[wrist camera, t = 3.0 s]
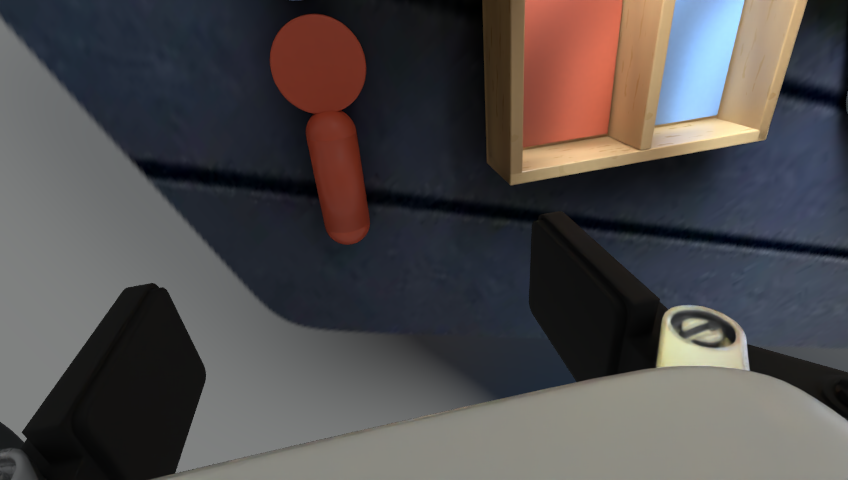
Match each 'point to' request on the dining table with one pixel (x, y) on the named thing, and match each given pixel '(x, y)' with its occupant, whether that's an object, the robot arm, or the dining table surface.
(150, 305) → the robot arm
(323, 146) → the red knob peg
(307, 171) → the dining table surface
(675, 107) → the caddy
